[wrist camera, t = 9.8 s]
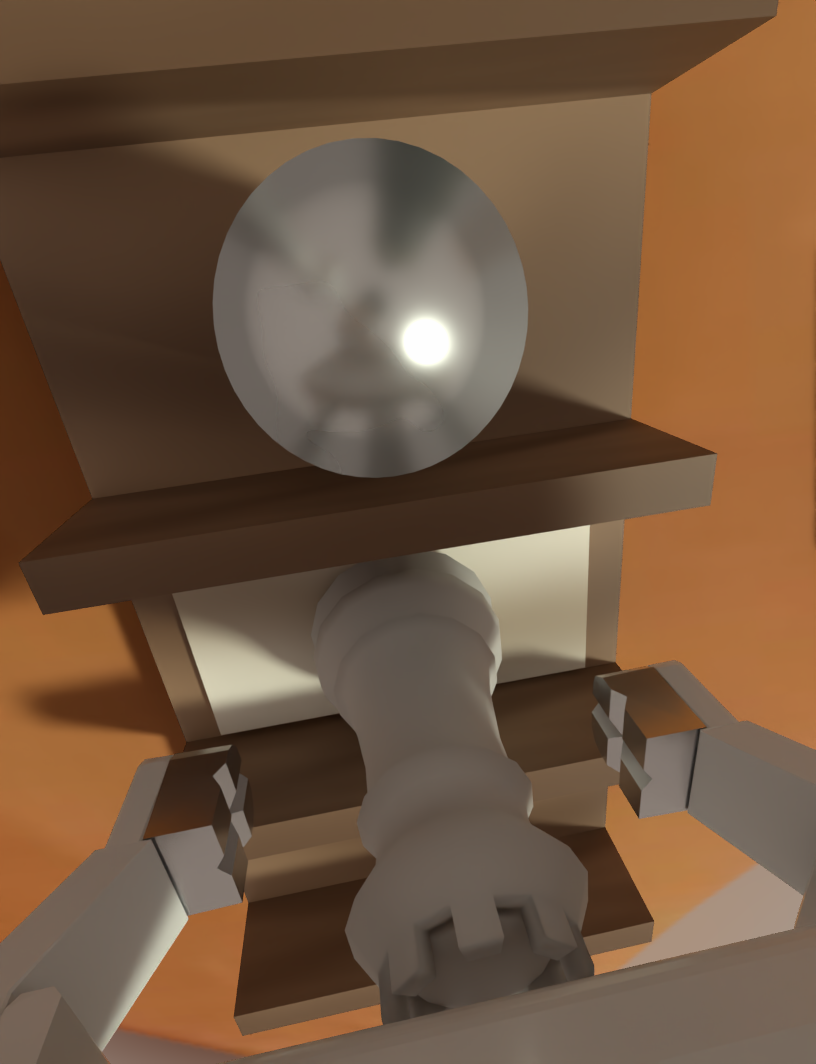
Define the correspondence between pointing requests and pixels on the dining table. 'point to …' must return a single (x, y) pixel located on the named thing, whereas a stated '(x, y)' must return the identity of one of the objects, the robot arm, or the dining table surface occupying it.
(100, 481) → the rack
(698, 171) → the dining table surface
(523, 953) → the rook chess piece
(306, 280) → the metal peg
